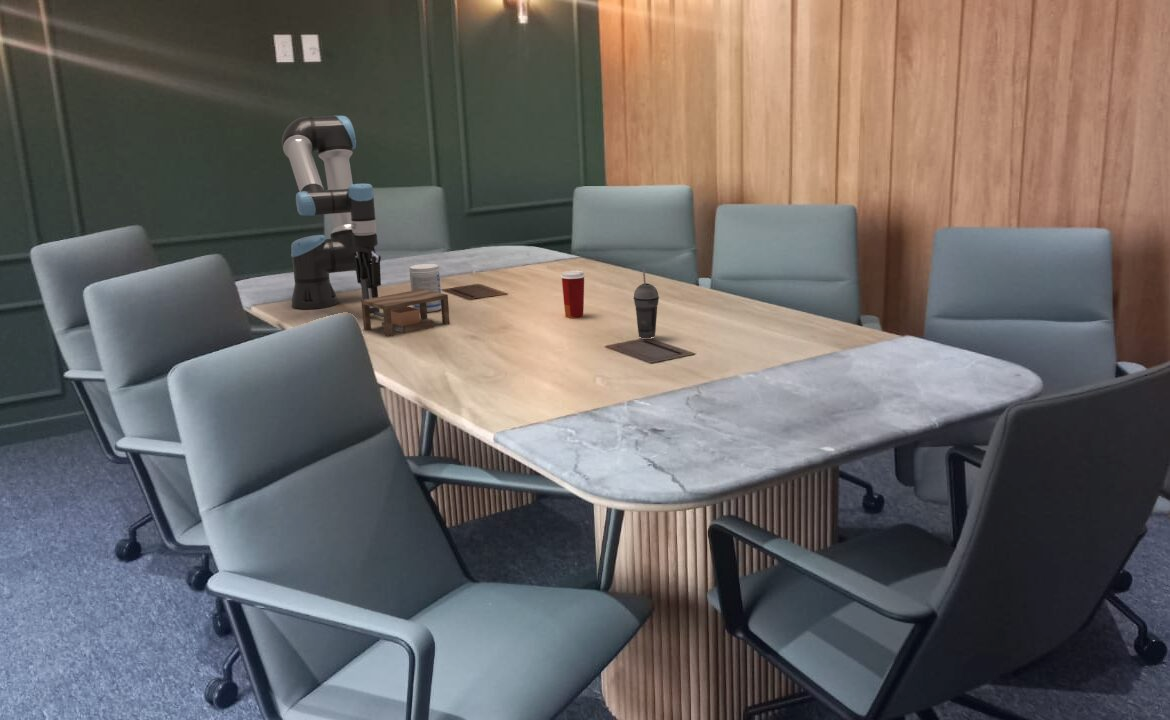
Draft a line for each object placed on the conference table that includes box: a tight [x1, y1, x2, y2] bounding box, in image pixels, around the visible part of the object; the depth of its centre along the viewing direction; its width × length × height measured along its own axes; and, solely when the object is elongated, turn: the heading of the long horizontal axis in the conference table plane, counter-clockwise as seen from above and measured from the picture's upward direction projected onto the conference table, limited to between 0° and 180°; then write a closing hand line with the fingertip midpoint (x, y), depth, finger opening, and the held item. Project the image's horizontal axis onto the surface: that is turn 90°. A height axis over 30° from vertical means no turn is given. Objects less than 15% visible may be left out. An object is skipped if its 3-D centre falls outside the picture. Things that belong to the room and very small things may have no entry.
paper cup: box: [560, 270, 586, 319], centre depth 316 cm, size 8×8×14 cm
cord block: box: [360, 278, 421, 327], centre depth 317 cm, size 24×7×12 cm, turn 42°
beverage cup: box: [633, 267, 660, 338], centre depth 286 cm, size 7×7×20 cm
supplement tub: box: [409, 263, 442, 313], centre depth 333 cm, size 10×10×15 cm
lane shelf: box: [360, 289, 451, 337], centre depth 310 cm, size 14×22×9 cm, turn 132°
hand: (371, 306), depth 326 cm, fingers closed on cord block, 3 cm apart
